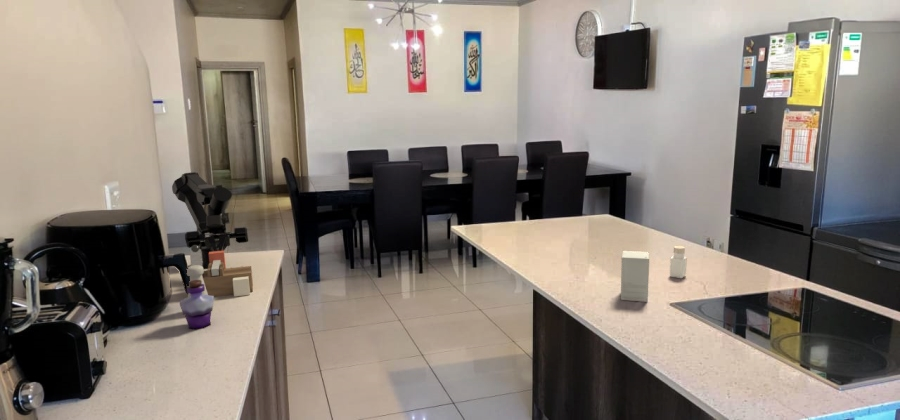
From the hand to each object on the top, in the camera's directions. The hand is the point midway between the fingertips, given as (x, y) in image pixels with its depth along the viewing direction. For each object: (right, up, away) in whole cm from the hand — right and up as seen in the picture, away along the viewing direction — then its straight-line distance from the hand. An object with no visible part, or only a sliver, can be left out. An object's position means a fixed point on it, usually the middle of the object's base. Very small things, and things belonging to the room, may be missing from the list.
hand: (218, 259), depth 184 cm
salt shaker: (+4, -13, -24) cm, 27 cm away
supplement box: (+126, -9, -19) cm, 128 cm away
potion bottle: (+9, -14, -33) cm, 37 cm away
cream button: (+11, -10, -10) cm, 18 cm away
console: (+4, -9, -7) cm, 12 cm away
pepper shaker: (+145, -5, -2) cm, 145 cm away
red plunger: (+2, -4, -6) cm, 7 cm away
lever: (-1, -3, -13) cm, 14 cm away
